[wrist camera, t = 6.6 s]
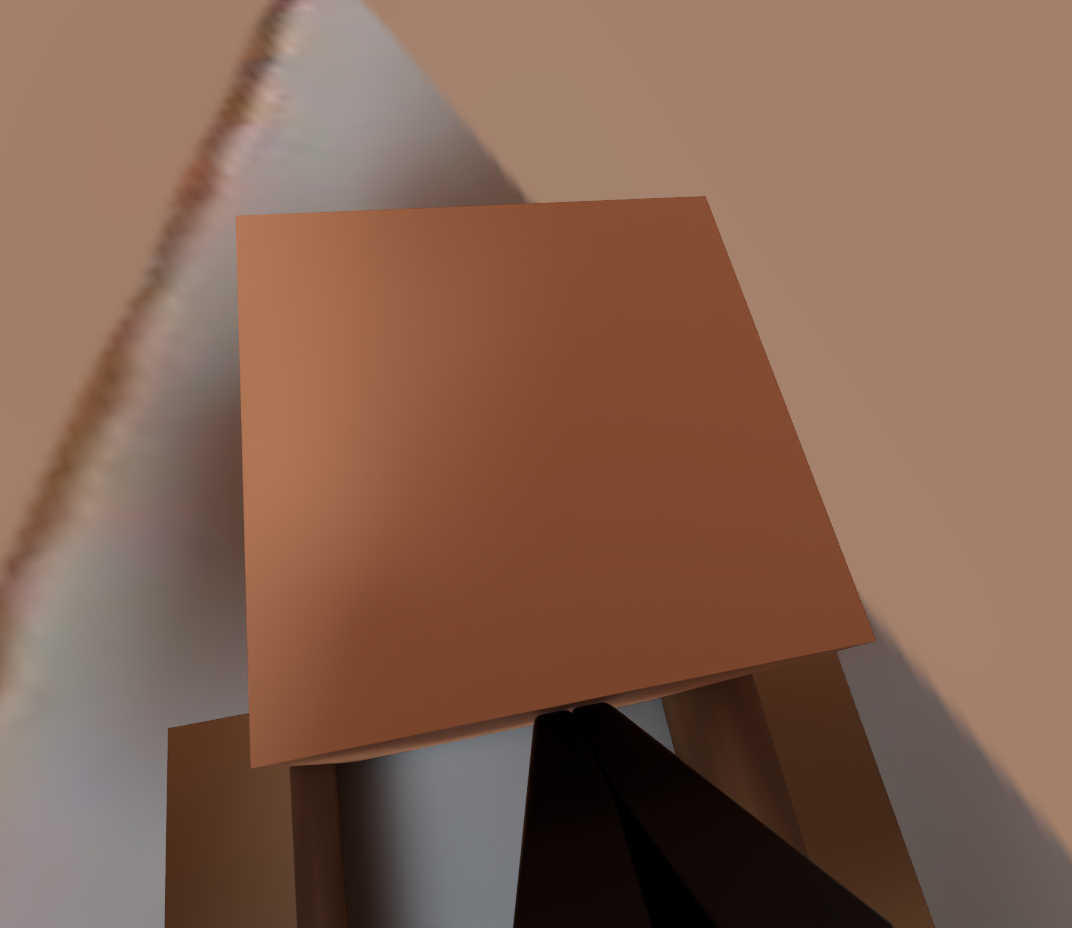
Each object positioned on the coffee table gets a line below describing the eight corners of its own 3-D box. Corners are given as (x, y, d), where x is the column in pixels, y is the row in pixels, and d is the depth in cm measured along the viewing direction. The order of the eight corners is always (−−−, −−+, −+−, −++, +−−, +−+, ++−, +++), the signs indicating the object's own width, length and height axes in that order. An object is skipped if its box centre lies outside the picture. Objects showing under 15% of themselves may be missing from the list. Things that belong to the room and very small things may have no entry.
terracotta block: (646, 701, 14) (876, 639, 7) (356, 761, 13) (250, 767, 5) (584, 447, 16) (705, 196, 9) (332, 478, 15) (236, 215, 8)
